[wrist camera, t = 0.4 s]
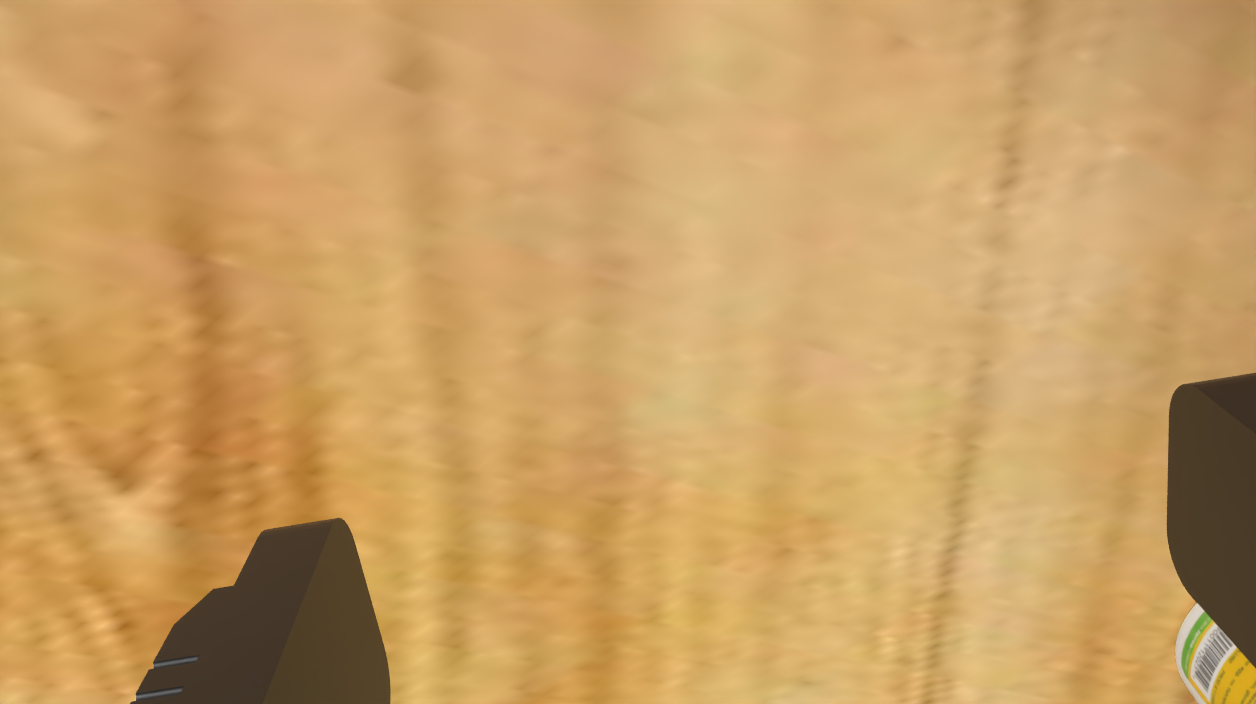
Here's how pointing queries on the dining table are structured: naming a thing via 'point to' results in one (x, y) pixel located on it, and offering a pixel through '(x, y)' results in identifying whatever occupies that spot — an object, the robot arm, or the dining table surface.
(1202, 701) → the supplement bottle
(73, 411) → the dining table surface
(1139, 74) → the dining table surface
